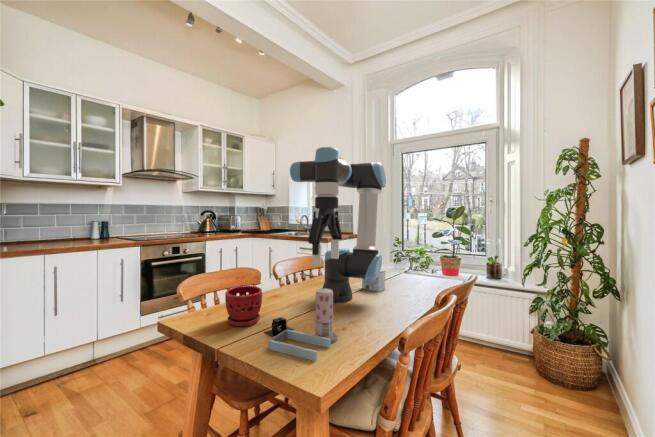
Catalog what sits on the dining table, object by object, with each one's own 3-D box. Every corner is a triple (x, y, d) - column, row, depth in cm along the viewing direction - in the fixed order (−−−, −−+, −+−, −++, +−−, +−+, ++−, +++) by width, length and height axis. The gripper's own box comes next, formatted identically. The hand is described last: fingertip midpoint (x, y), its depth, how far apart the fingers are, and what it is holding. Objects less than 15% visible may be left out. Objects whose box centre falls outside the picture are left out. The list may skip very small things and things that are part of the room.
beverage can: (323, 331, 100) (324, 287, 100) (336, 336, 97) (336, 290, 96) (311, 336, 96) (312, 290, 96) (324, 341, 92) (325, 293, 92)
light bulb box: (361, 288, 159) (361, 268, 159) (368, 286, 164) (368, 266, 164) (379, 292, 152) (379, 271, 152) (385, 289, 157) (385, 269, 157)
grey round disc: (319, 331, 101) (319, 329, 101) (341, 336, 98) (341, 334, 98) (308, 340, 94) (308, 338, 94) (331, 345, 91) (331, 343, 91)
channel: (286, 336, 97) (286, 329, 97) (330, 346, 90) (330, 338, 90) (268, 348, 88) (268, 340, 88) (315, 361, 82) (315, 352, 81)
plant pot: (219, 321, 110) (219, 289, 110) (252, 313, 119) (252, 283, 118) (233, 332, 100) (233, 297, 100) (268, 323, 109) (268, 290, 108)
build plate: (269, 341, 95) (269, 326, 95) (257, 334, 100) (257, 320, 100) (299, 330, 104) (299, 317, 104) (287, 324, 109) (287, 312, 109)
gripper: (332, 197, 109) (331, 255, 109) (296, 194, 86) (296, 267, 87) (351, 197, 105) (350, 256, 106) (319, 194, 83) (319, 269, 84)
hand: (326, 261), depth 97 cm, fingers open, 13 cm apart
